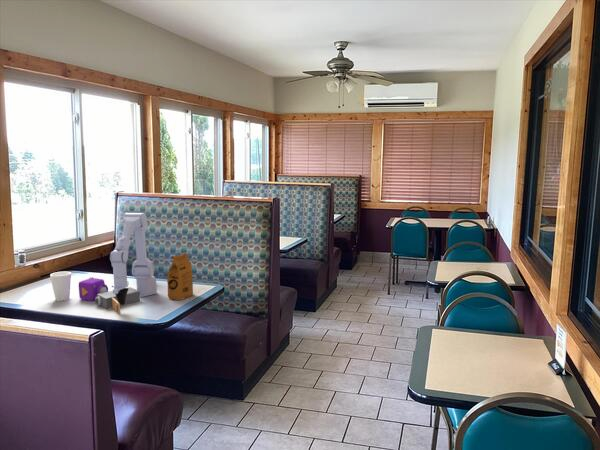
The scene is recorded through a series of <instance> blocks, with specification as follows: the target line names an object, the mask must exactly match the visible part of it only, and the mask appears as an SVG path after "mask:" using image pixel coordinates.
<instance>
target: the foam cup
mask: <svg viewBox="0 0 600 450" xmlns="http://www.w3.org/2000/svg"><path fill="white" fill-rule="evenodd" d="M49 277H50V282H51V285H52V289H53V290H52V291H53V295H54V298H55V301H57V302H63V300H64V301H68V300H69V299H70V296H71V294H70V293H71V282H72V281H71V279H72V272H71V271H57V272H53V273H50V275H49Z"/></svg>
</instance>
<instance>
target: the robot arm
mask: <svg viewBox="0 0 600 450" xmlns="http://www.w3.org/2000/svg"><path fill="white" fill-rule="evenodd" d="M123 225H124V227H123V231H122V235H121V236H120V237H119V238H118V240H117V242H116V245H115V247H114V249H113V251H111V252H110V254H109V260H110V262H111V267H112V271H113V284H111V288H113V289H112V291H113V294H115V295H116V297H117V299H118V302H119V303H120V306H125V305H126V304H125V300H126V295H127V292H128V290H129V289H128V288H129V280H128V275H127V273H128V272H127V262H128V260H129V249H130V247H131V244H132V241H131V240H130V239H131V237H132V235H133V234H134V239H135V240H134V243H135V252H136V259H135V260H134V261H133V262H132V268H131V274H132V276H133V277H134V279H135V281H136V290H138V291H140V298H143V297H147V296H151V295H157V294H158V291H157V285H158V284H157V278H156V277H155V276H154V274H155V268H154V263H153V262H154V261H152V260H150V259H149V258H148V257H147V244H146V243H147V241H146V228H148V217H147V214H146V213H145V212H125V213H124V214H123ZM124 304H125V305H124Z"/></svg>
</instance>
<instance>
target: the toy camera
mask: <svg viewBox="0 0 600 450" xmlns="http://www.w3.org/2000/svg"><path fill="white" fill-rule="evenodd" d="M105 292H109V287H108V285H107V284H106V283H105V280H104V279H103V278H95V277H94V276H91V277H89V278H87V279H83V280H81V281H78V295H79V299H80V300H84V301H90V302H92V301H93V302H94V301H95V298H96V297H97V294H100V293H105Z"/></svg>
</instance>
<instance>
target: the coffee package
mask: <svg viewBox="0 0 600 450" xmlns="http://www.w3.org/2000/svg"><path fill="white" fill-rule="evenodd" d="M171 259H172V263H171V266H170V267H169V270H168V272H167V277H166V280H167V297H168V299H169V300H171V299H172V300H176V301H182V300H184V299H186V298H190V297H191V296H193V295H194V286H193V285H194V282H193V281H194V279H193V278H194V277H193V269H192V263H191V261H190V259H189V257H188V255H187V253H186V252H183V253H182V254H181V255H172V256H171Z"/></svg>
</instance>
